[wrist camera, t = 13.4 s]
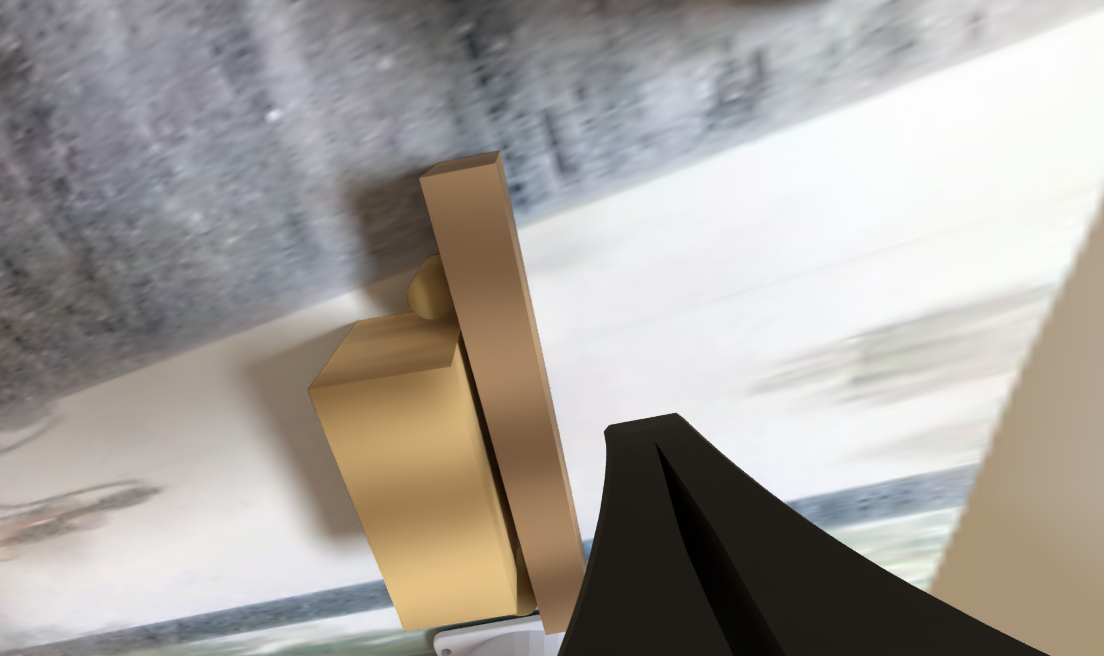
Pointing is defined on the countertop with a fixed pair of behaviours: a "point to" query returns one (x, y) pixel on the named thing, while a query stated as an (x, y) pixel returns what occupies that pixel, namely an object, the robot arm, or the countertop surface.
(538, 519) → the wall ledge
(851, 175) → the countertop surface
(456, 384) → the tan wooden block
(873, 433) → the countertop surface
